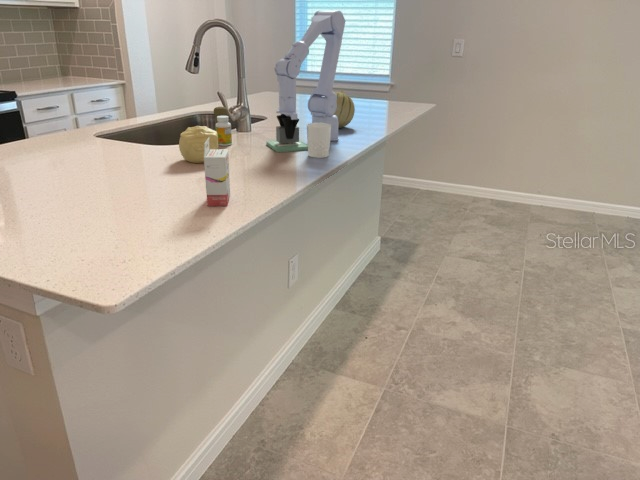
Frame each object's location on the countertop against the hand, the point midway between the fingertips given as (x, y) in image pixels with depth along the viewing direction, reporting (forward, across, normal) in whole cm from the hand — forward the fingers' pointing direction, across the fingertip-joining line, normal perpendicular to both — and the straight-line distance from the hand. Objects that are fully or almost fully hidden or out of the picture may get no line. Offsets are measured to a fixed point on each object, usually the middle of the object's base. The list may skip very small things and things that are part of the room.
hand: (287, 137), depth 172 cm
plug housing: (+1, 0, 0) cm, 1 cm away
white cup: (+4, +15, +6) cm, 16 cm away
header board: (+3, 0, 0) cm, 3 cm away
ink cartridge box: (+4, +49, -34) cm, 60 cm away
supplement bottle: (+4, -11, -20) cm, 23 cm away
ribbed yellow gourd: (+4, -28, +31) cm, 42 cm away
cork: (+4, -24, -18) cm, 30 cm away
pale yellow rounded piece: (+4, +9, -32) cm, 33 cm away
